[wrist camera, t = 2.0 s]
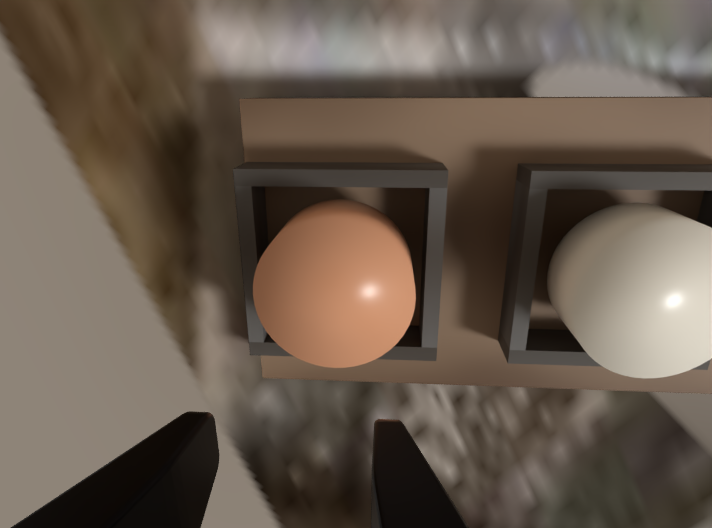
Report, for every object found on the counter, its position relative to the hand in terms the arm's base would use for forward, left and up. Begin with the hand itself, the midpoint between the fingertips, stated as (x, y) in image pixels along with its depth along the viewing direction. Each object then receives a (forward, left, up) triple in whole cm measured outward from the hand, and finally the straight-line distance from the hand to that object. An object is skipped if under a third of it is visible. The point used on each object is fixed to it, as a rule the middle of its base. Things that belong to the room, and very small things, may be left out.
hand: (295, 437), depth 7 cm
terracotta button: (0, 0, -8) cm, 8 cm away
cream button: (0, -9, -8) cm, 11 cm away
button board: (0, -9, -11) cm, 14 cm away
